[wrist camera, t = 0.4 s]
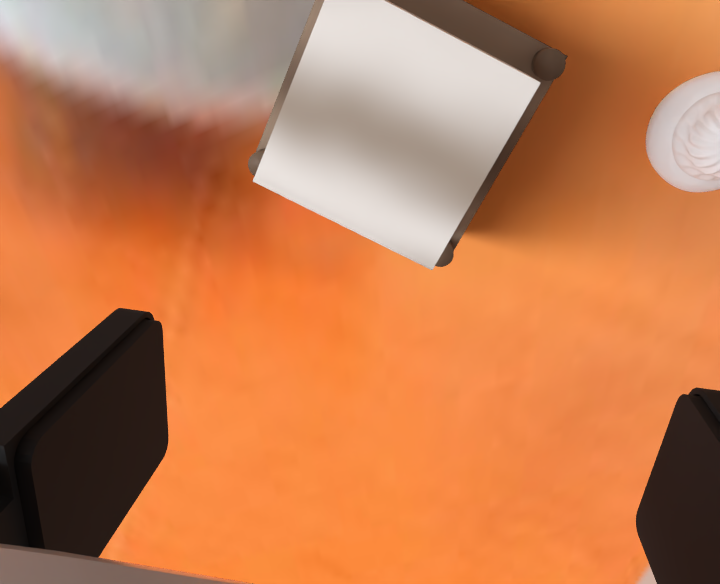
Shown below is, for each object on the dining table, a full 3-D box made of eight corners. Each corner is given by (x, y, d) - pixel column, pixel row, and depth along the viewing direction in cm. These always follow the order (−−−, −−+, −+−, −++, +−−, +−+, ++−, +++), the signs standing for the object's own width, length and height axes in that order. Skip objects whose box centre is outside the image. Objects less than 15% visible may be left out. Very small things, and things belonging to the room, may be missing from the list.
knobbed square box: (357, -50, 33) (314, -87, 22) (548, 51, 34) (596, 63, 23) (277, 146, 38) (211, 195, 27) (445, 230, 39) (445, 310, 28)
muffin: (648, 58, 34) (696, 66, 27) (761, 75, 33) (836, 87, 27) (614, 168, 36) (650, 198, 30) (718, 184, 36) (777, 219, 29)
